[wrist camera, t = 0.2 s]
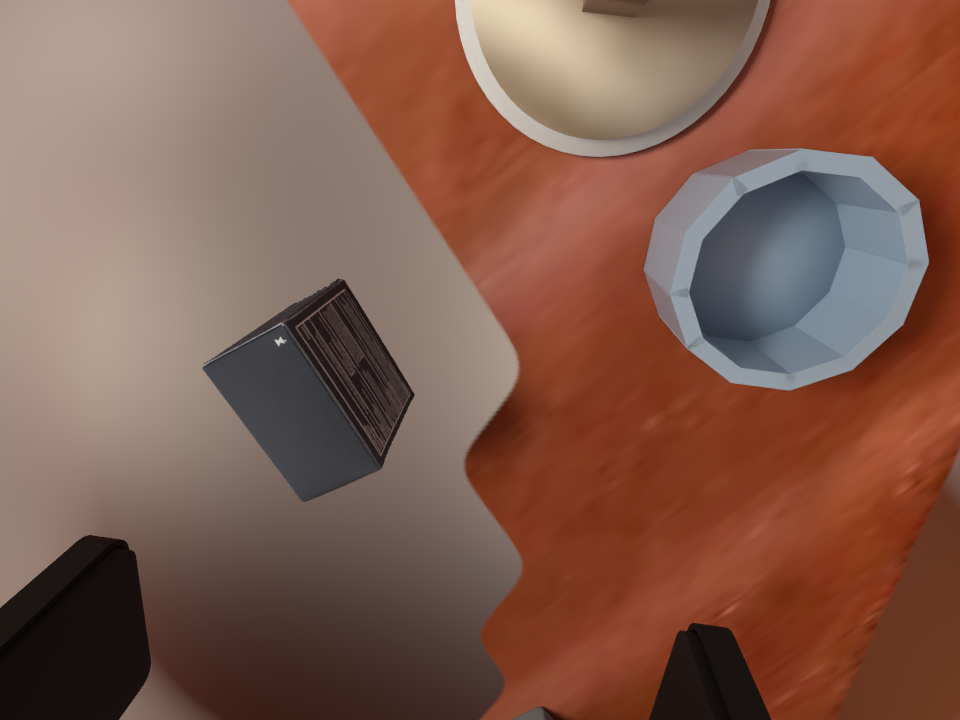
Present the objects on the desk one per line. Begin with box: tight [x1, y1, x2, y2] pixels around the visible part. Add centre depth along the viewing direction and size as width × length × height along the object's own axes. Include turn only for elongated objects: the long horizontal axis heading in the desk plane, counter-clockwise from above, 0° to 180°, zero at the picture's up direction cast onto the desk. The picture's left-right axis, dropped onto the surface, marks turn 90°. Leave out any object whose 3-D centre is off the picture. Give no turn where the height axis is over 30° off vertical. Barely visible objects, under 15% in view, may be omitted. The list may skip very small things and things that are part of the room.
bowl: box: [643, 148, 930, 391], centre depth 33 cm, size 13×13×7 cm
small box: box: [202, 279, 414, 502], centre depth 36 cm, size 11×6×10 cm, turn 28°
